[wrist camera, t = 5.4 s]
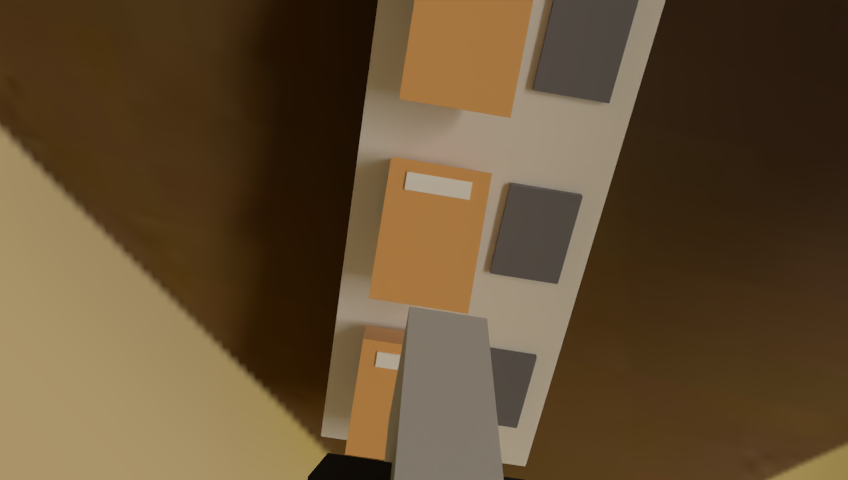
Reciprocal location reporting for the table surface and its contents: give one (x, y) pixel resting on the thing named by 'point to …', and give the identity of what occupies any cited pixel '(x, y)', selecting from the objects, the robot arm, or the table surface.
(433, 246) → the orange block
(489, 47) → the orange block
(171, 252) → the table surface
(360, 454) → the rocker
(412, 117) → the power strip
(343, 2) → the table surface
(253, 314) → the table surface
